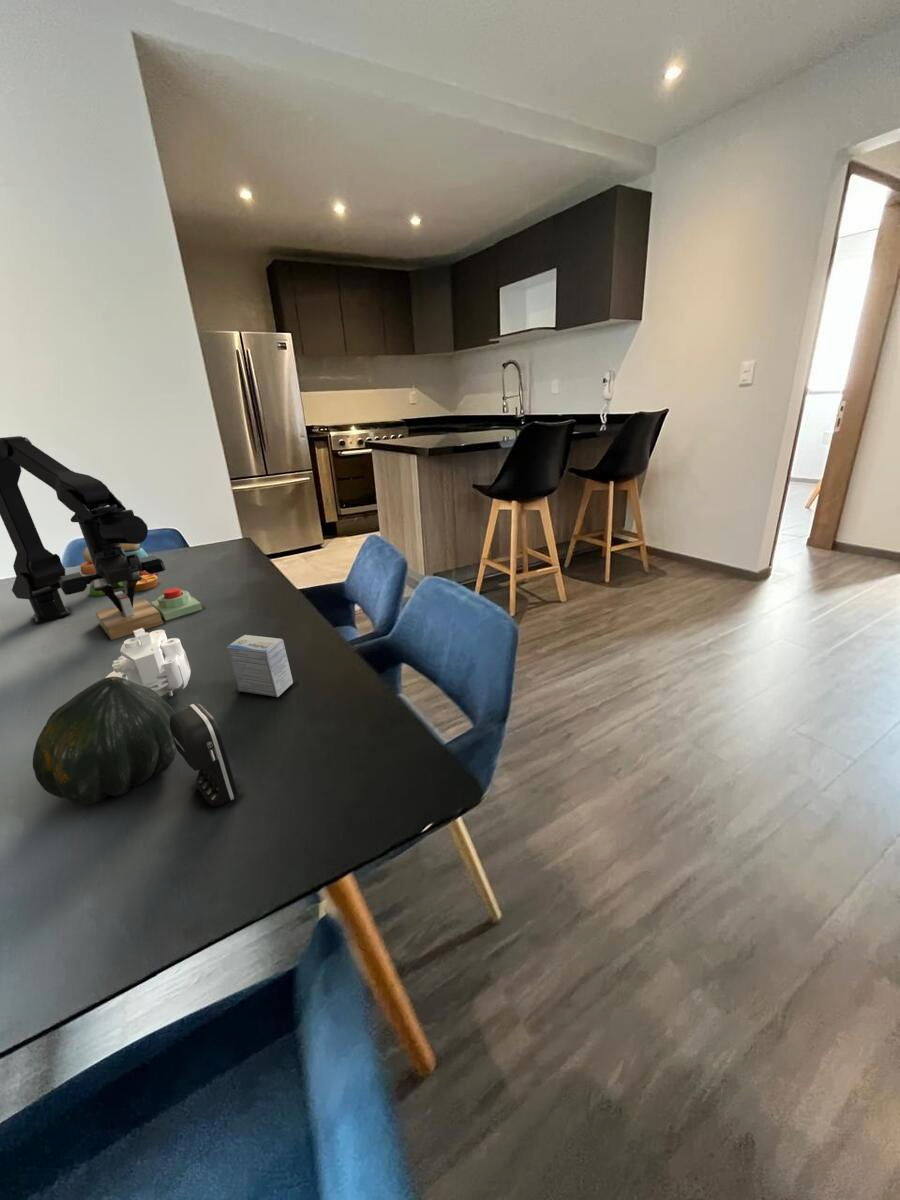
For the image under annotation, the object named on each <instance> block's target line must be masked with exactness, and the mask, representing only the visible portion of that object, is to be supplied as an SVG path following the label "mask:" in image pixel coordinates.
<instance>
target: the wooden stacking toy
mask: <svg viewBox="0 0 900 1200" xmlns="http://www.w3.org/2000/svg"><path fill="white" fill-rule="evenodd" d="M120 545H121V548H122V551H123V553H124V555H125V556H128V555H132V554H137V555H138V557H139V558H143V557H147V556H149V555H148V553H147V552H146V551H145V549H144V548H143V547H140V545H141V543H140V544H121V543H120ZM82 558H83V560H84V561H85V562H83V563H82V564H80V573H81V574H82V576H85V575H90V574H94V573H96V570H95V567H94V564H93V562H92V559H91V556H90V553H89V550H88V548H87V547H85V548H84V549H83V551H82ZM156 574H157V573H154V574H150V573H148V572H146V571H145V570H144V571H140V574H139V576H141V577H142V580H140V581H138V582H137V584H136V586H135V590H134V593H135V592H136V593H137V592H143V591H148V590H151V589H154V588H155V587H157V585H158V576H157V575H156ZM111 587H112V588H121V587H123V588H124V586H123V582H119V583H117V584H114V585H111ZM89 595H90V596H92V597H102V596H107V595H106V594H104V593H103V592H102V591H95V590H94V589H93V588H92V587H91V585H90V584H89Z"/></svg>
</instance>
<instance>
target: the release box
mask: <svg viewBox="0 0 900 1200" xmlns="http://www.w3.org/2000/svg"><path fill="white" fill-rule="evenodd" d="M180 590H181V593H182V595H181V596H179V597H176V598H172V599H165V597H164V594H160V595H159V596H158V597H157V598H156V599H155V600H154V601H153V600H152V601H150V604H154V605H152V606H153V607H154V608H155V609H156V610H157V611H159V613H160V616H161V618H162V619H163V620H164V621H169V620H173V619H176V618H179V617H183V616H186V615H189V614H193V613H195V612H198V611H202V610H203V607H202V603H201V602H200V601H199V600H197V599H196V598H194V597H193V596H192V595H190V591H188V590H185V589H184V590H183V589H180Z"/></svg>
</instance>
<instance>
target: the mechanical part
mask: <svg viewBox="0 0 900 1200" xmlns="http://www.w3.org/2000/svg"><path fill="white" fill-rule="evenodd" d="M133 632H134V633H133V635H134V637H129V638H128V639H126V640H124V641H123V644H122V646H121V648H120V650H119V651H120V654H121V655H120V656H118V657H117V659H114V660H113V662H112V664H111V667H112V670H113V671H112V672H110V673H109V674H108V675H106V676H105V678H108V677H120V678H124V679H127V680H130V681H133V682H135V683H139V684H142V685H144V686H146V687H148V688H150V689H152V690H154V691H155V692H156V693H157V694H158V695H159V696H160V697H161V698H162V697H163V696H164V695H166V694H167V693H168V696H169V697H173V695H174V693H173V691H175V690H185V688H186V687H187V686H188V683H189V681H190V679H191V666H190V663H189V659H188V656H187V653H186V651H185V649H184V648H183V646H182V643H181V640H180V638H178V637H172V638H168V637H167V635H166V630H165V629H155V630H152V631H150V632H148V631H147V632H146V631H145V630H144V629H143V628H141V629H138V630H135V631H133Z"/></svg>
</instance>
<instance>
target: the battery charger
mask: <svg viewBox="0 0 900 1200" xmlns="http://www.w3.org/2000/svg"><path fill="white" fill-rule="evenodd" d="M170 728H171V732H172V736H173V739H174V743H175V746H176V751H178V753H179V754H180V756H182V758H183V759H184V761H185V762H186V764H187V765H188V766H189V767H190V768H191V769H192V770H194V771H198V774H197V778H196V780H195V786H196V788H197V790H198V791H199V792H200V794H201V795H202V796H203V798H204V799H205V800H206V803H208V804H209V805H210V806H211V807H213V808H214V807H220V806H222V805H224V804H227V803H228V802H230V801H231V802H232V801H233V800H235V798H237V797H238V795H239V791H238V788H237V784H236V781H235V778H234V773H233V771H232V767H231V763H230V759H229V757H228V753H227V749H226V746H225V743H224V740H223V736H222V733H221V730H220V727H219V725H218V723H217V721H216V719H215V718H214V716H213V715H212V714H211V713H210V712H209V711H208V710H207V709H206V708H205V707H204V706H203V705H202V704H201V703H200V702H199V703H198V702H197V703H192V704H189V705H188V706H187V707H185V708H182V709H180V710H178V711H176V712H175V713H174V714H173V715H172V716H171V718H170Z"/></svg>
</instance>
